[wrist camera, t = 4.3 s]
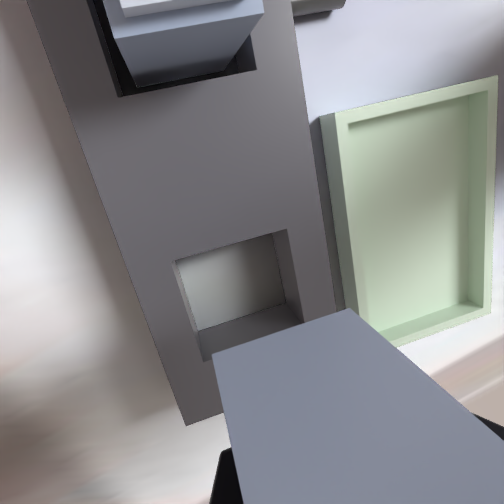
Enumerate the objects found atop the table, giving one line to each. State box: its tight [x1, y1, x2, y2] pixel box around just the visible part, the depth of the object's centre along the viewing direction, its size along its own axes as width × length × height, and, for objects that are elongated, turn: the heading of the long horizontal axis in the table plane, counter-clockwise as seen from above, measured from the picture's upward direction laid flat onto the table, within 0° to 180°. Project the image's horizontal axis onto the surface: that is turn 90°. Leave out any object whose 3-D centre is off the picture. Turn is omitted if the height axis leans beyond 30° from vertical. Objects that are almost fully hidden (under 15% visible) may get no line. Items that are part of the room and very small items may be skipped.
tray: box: [319, 75, 498, 348], centre depth 19 cm, size 9×14×2 cm, turn 13°
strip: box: [27, 0, 337, 426], centre depth 15 cm, size 9×22×4 cm, turn 13°
